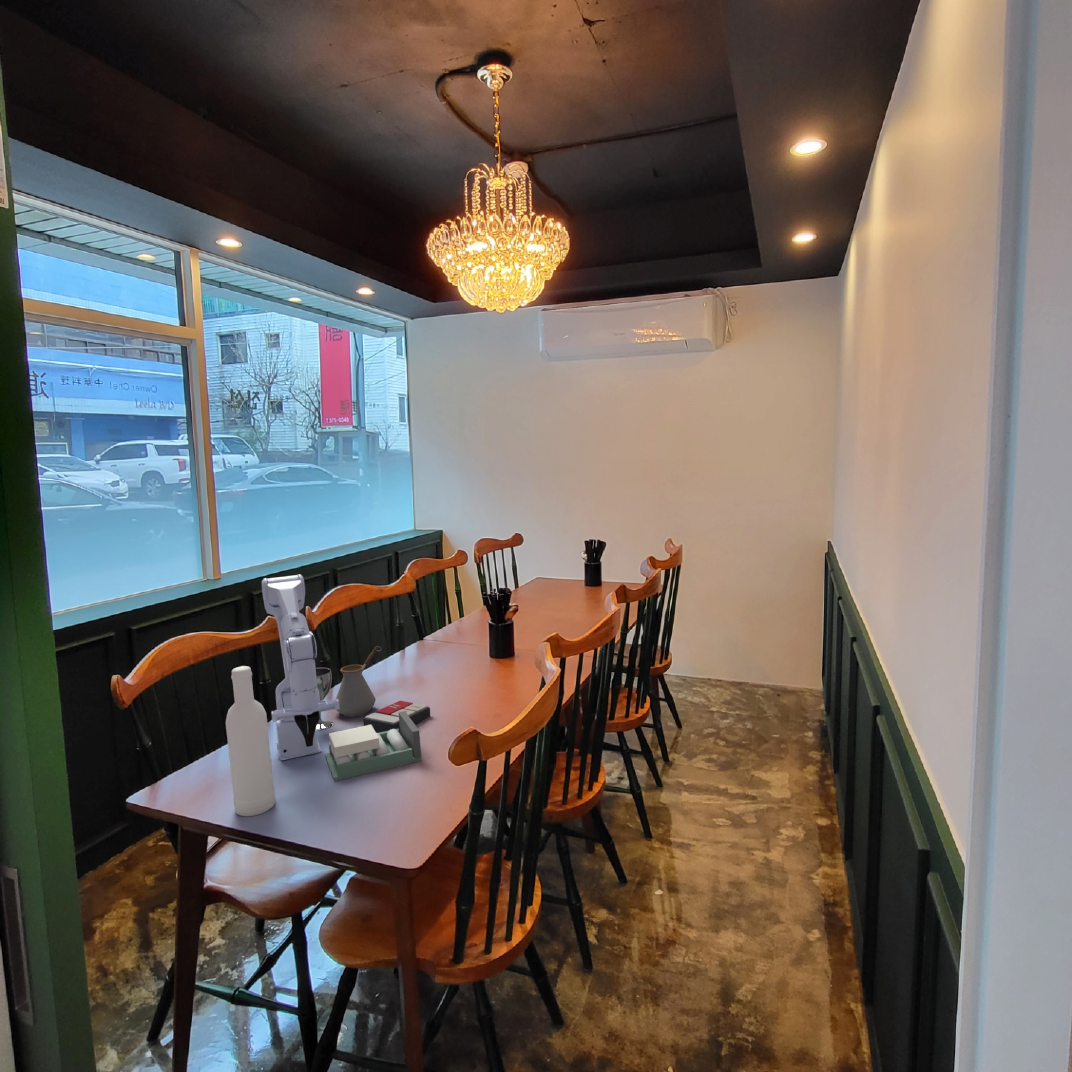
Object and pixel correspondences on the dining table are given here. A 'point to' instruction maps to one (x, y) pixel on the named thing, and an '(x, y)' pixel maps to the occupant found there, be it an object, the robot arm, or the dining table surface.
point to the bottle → (249, 748)
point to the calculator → (396, 716)
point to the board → (354, 740)
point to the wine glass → (323, 691)
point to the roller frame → (380, 752)
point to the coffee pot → (355, 690)
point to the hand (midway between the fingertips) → (309, 744)
